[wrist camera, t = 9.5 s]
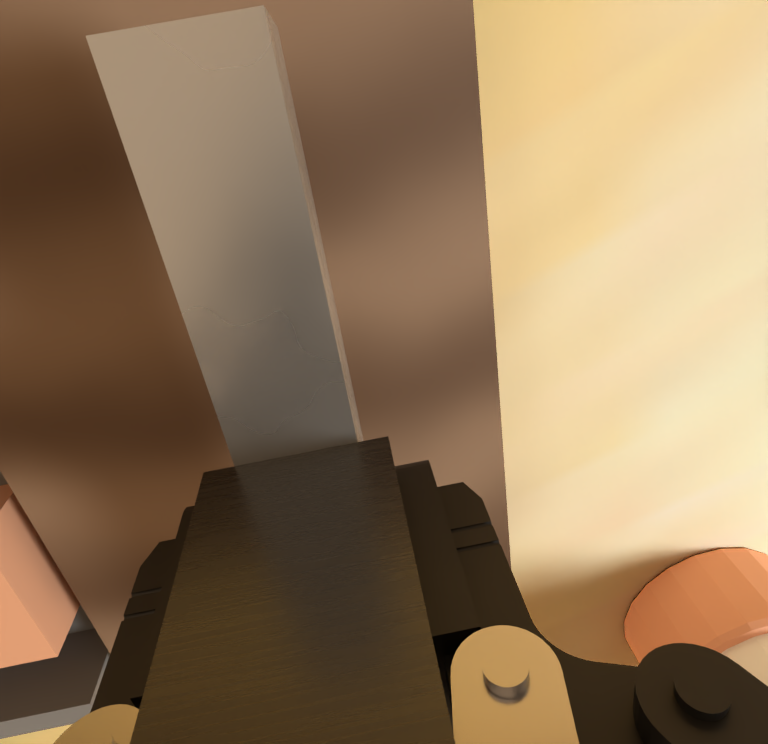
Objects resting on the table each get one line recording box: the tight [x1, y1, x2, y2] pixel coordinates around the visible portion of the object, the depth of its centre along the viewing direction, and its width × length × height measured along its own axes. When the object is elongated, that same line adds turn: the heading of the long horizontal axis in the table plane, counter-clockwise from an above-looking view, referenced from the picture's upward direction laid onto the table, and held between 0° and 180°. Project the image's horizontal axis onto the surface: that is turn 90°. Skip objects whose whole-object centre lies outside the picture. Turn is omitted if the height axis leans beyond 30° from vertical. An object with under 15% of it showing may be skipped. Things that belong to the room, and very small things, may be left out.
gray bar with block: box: [86, 5, 455, 744], centre depth 9 cm, size 16×3×8 cm, turn 9°
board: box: [0, 0, 511, 653], centre depth 16 cm, size 20×14×2 cm
